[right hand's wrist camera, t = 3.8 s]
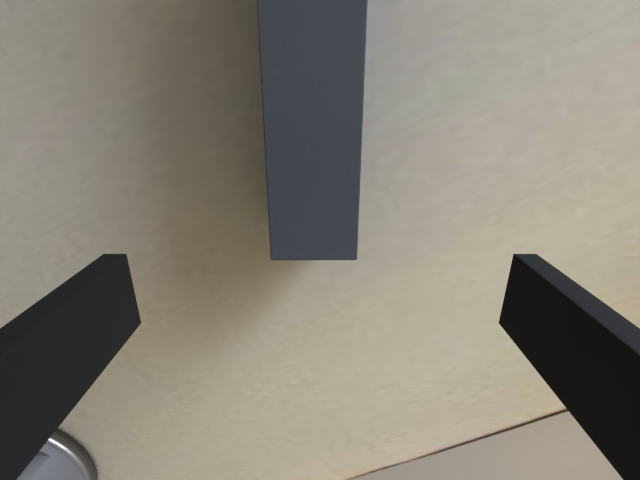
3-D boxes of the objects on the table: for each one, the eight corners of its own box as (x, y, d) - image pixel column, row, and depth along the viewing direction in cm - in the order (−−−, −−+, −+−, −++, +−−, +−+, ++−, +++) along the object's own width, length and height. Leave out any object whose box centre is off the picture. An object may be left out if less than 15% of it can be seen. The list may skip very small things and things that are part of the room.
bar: (347, 221, 31) (356, 260, 24) (281, 221, 31) (271, 260, 24) (358, -172, 22) (380, -311, 15) (265, -172, 22) (239, -313, 15)
